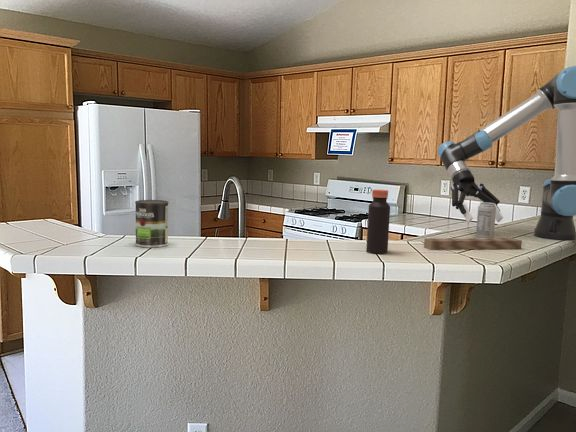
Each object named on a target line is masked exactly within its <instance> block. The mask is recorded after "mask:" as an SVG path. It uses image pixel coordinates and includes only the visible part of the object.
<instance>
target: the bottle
mask: <svg viewBox="0 0 576 432" xmlns="http://www.w3.org/2000/svg"><path fill="white" fill-rule="evenodd" d="M388 195H389V190H387V189H372V193H371V196H372V201H371V203H370V204H369V205H368V213H367V214H368V215H367V231H366V232H367V233H366V249H365V250H366V252H367V253H369V254H374V255H375V254H376V255H384V254H385V255H386V254H388V253H389V252H388V249H389V231H390V217H391V214H390V213H391V205H390V204H389V203H388V202H387V200H388V199H389V198H388V197H389V196H388Z"/></svg>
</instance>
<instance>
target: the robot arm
mask: <svg viewBox="0 0 576 432" xmlns="http://www.w3.org/2000/svg"><path fill="white" fill-rule="evenodd" d="M553 109H556V110H557V124H556V125H557V128H556V131H557V132H556V146H555V147H556V149H555V150H556V152H555V173H554V175H553V177H551V178H549V179H546V180H544V182H543V185H542V197H541V198H542V199H541V207H540V208H541V209H540V216H539V219H538V221H537V224H536V225H535V226H536V227H535V228H534V230H533V231H534V232H533V235H534V236H536V237H539V238H543V239H549V240H561V241H562V240H563V241H565V240H566V241H573V240H576V228H575V224H574V223H575V222H574V216H576V65H572V66H568V67H566V68H564V69H563V70H561V71H560V72H559V73H557V74H556V75H554V76H553V77H552V78H551V79H550V80H549V81H548V82H546V83H545V84H544V85H542V86H541V87H539V88H538V89H536V93H535V94H533V95H531V96H530V97H528V98H527V99H526V100H524V101H523V102H521V103H519V104H518V105H516V106H515V107H513V108H511V109H510V110H508V111H507V112H505V113H504V114H502V115H501V116H499V117H498V118H496V119H494V120H493V121H491V122H490V123H489V124H487V125H485V126H484V127H482V128H480V129H479V130H477V131H476V132H474V133H473V134H471V135H470V136H469V135H468V136H467V137H466V138H464V139H463V140H461V141H459V142H457V143H455V142H454V141H453V140H449V141H444V142H443V143H441V144H440V145H439V147H438V148H437V154H438V157H439V159H440V160H441V162H442V164H443V167H444V168H445V170H446V171H447V173H448V175H449V177H450V179H451V181H452V183H453V184H452V185H451V186H450V190H451V206H452V207H455V209H456V210H458V211H460V213H461V215H462V216H463V217H464V220H465V221H466V223H467V224H469V223H470V222H471V221H473V219H474V217H473V215H472V213H471V212H470V210H469V208H468V206H467V203H464V202H465V199H466V197H474V198H477V199H479V200H480V201H482V202H490V203H495V204H494V205H495V207H496V215H495V221H496V222H497V223H499V222H501V221H502V220H503V219H504V217H503V215H502V212H501V210H500V208H499V206H498V204H500V202H501V201H500V200H499V198H497V196H495V195H494V194H493V193H492V192H490V191H489V190H488V188H486V186H485V185H484V183H480V184H476V182H475V177H474V174H473V173H472V171H471V169H470V167H469V166H468V164H467V163H466V161H467V160H469V159H472V158H473V157H475V156H477V155H479V154H482V153H484V152H486V151H487V150H489V149H490V148H492V147H493V144H494V143H496V142H498V141H499V140H500V139H502V138H504V137H505V136H507V135H508V134H510V133H512V132H513V131H515V130H516V129H518V128H520V127H521V126H523V125H524V124H526V123H528V122H529V121H532V120H533V119H534V118H536V117H537V116H539V115H540V114H543V113H544V112H545V111H547V110H548V111H552V110H553ZM459 192H460V194H459Z"/></svg>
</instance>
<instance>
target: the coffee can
mask: <svg viewBox="0 0 576 432" xmlns="http://www.w3.org/2000/svg"><path fill="white" fill-rule="evenodd" d="M134 203H135V246H136V247H138V248H147V249H149V248H151V249H152V248H153V249H154V248H155V249H156V248H163V247H167V246H168V244H169V242H168V241H169V201H167V200H162V199H139V200H136V201H135V202H134Z"/></svg>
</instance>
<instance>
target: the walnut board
mask: <svg viewBox="0 0 576 432" xmlns="http://www.w3.org/2000/svg"><path fill="white" fill-rule="evenodd" d="M522 242H523V241H522V240H520V239H517V238H514V237H503V238H502V237H494V238H476V237H475V238H473V237H470V238H469V237H467V238H464V237H463V238H462V237H460V238H459V237H457V238H453V237H452V238H448V237H447V238H446V237H445V238H443V237H442V238H430V237H429V238H424V241H423V248H425V249H428V250H430V251H455V250H456V251H457V250H458V251H463V250H462V249H490V250H521V249H522V244H523V243H522Z"/></svg>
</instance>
